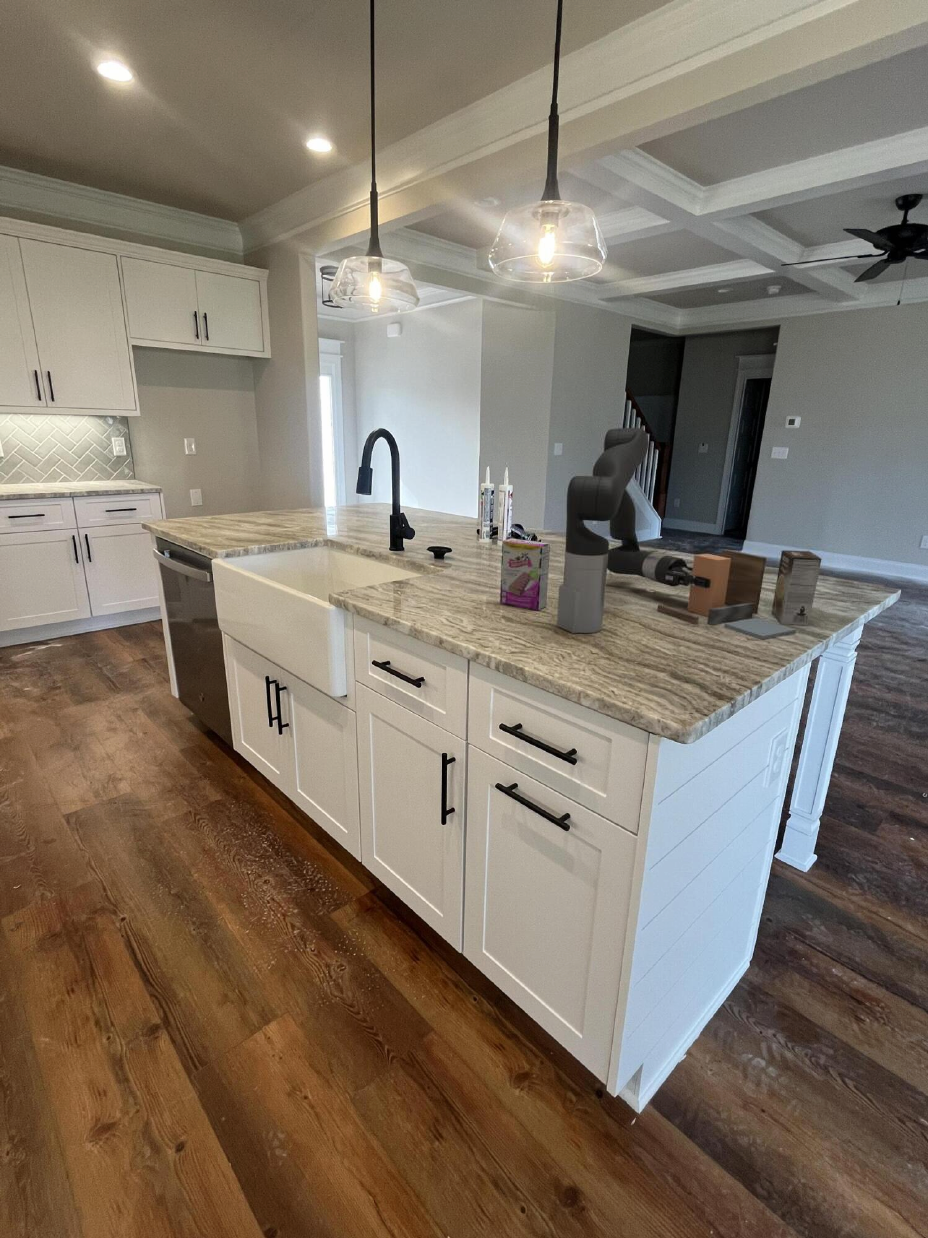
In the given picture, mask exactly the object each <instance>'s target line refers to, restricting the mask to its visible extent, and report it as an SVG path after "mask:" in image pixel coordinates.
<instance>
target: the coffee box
mask: <svg viewBox="0 0 928 1238" xmlns="http://www.w3.org/2000/svg"><path fill="white" fill-rule="evenodd" d="M822 559H823V558H821V557H820V556H818V555H816V554H814V553H813V552H811V551H810V550H807V551H806V550H788V549H787V550H784V549H783V550H781V554H780V560H779V566H778V571H777V576H776V577H777V578H776V584H775V589H774V596H773V601H772V607H771V615H772V616H773V617H774V618H775V619H776V620H777V621H778V622H779V623H780V625H791V624H794V625H793V626H807V627H808V626H809V625H810V619H811V615H812V609H813V604H814V599H815V594H816V590H817V583H818V578H819V575H820V574H819V573H820V568H821V565H822V564H821V563H822Z"/></svg>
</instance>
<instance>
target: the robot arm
mask: <svg viewBox="0 0 928 1238" xmlns="http://www.w3.org/2000/svg"><path fill="white" fill-rule="evenodd" d="M648 450H649V437H648V433H647V432H646V431H645V430H644V429H643V428H640V427H625V428H624V427H622V428H621V427H620V428H612V429H609V430H607V432H606V434H605V437H604V441H603V452H602V453H601V454H600V455H599V457H598V458H597V460H596V461H595V463H594V465H593V468H592V475H591V476H590V475H575V476H573V477H572V478H571V479H570V481H569V483H568V487H567V492H566V525H565V527H566V529H565V548H564V549H565V551H564V552H565V553H564V564H563V567H564V568H563V579H562V582H563V583H562V584H560V585H559V587H558V601H557V619H556V627H559V628H561V629H563V630H566V631H568V632H570V633H572V634H578V633H581V634H590V633H591V634H593V633H598V632H600V631H601V630H602V628H603V619H604V606H605V596H606V585H607V584H606V583H607V571H609V572H611V573H613V574H618V575H626V576H627V575H631V576H632V575H633V576H638V577H642V578H644V579H648V580H651V581H652V582H655V583H659V584H663V585H666V586H669V587H678V586H680V585H681V586H685V587H688V586H691V585H692V586H695V585H697V586H700V587H704V588H709V587H710V582H711V581H710V579H707V578H703V577H700V576H697V575H693V574H692V570H693V566H688V563H687V562H686V561H685V560H684V559H683V558H681V557H677V556H673V555H667V554H663V553H655V552H650V551H646V550H641V549H640V544H639V541H638V537H637V533H636V518H637V517H636V513H637V512H636V506H635V503H634V501H633V498H632V497H631V495H630V493H629V492H628V491H627V487H628V485H629V483H630V481H632V478H633V476H634V475H635V471H636V470H637V468H638V467H639V466H640V465H641V464H642V463H643V462H644V460H645V458H646V456H647V454H648ZM584 521H592V522H609V536H610V537H611V538H612V539H613V540H617V541H620V542H621V545H618V546H615V547H611V548H609V547H610V542H609V540H608V538H606V537H604V536H601V535H599V534H597V533H596V532H593V531H592V530H590V529H589V528H588V527H587V526H586V524H585V522H584Z"/></svg>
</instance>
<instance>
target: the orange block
mask: <svg viewBox="0 0 928 1238" xmlns="http://www.w3.org/2000/svg"><path fill="white" fill-rule="evenodd" d="M730 563H731V559H730V558H725V557H721V556H720V555H717V554H716V555H715V554H709V553H702V554H694V556H693V564H692V567H693V570H692V574H693V575H697V576H700V577H703V578H707V579H710V581H711V582H710V587H709V588H704V587H700V586H697V585H695V586H692V585H689V586H690V587H689V595H688V603H687V611H690V612H692V613H696V614H698V615H702V616H704V617H707V618H708V614H709V609H713V608H719V607H725V605H724V604H725V597H726V590H727V583H728V576H729V569H730Z"/></svg>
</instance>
